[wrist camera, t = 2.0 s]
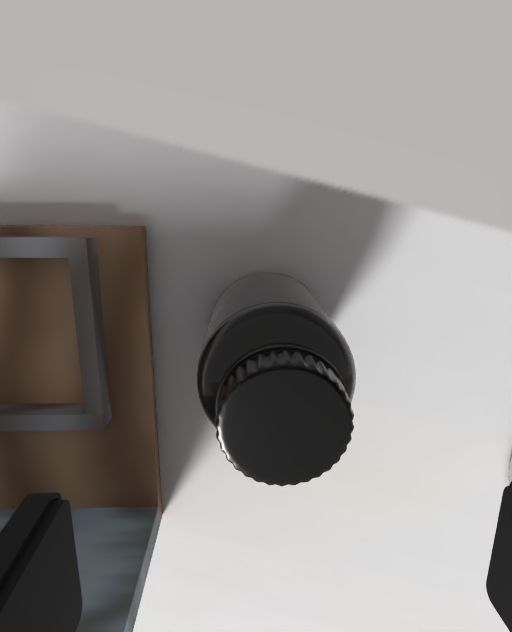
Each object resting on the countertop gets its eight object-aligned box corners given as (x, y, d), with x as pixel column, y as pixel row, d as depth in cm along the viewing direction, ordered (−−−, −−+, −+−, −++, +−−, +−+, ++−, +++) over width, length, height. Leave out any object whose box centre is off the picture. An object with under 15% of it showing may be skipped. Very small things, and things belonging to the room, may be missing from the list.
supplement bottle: (194, 291, 25) (153, 365, 13) (303, 255, 25) (358, 299, 13) (231, 391, 27) (223, 533, 15) (333, 359, 26) (406, 479, 15)
